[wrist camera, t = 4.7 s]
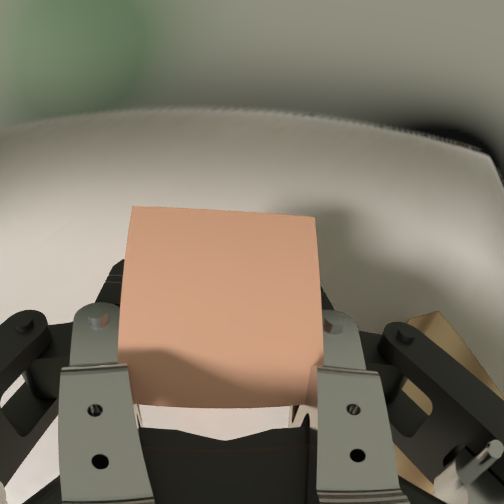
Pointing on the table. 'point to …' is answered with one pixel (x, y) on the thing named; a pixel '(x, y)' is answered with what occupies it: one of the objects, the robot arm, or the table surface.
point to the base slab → (455, 347)
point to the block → (220, 308)
